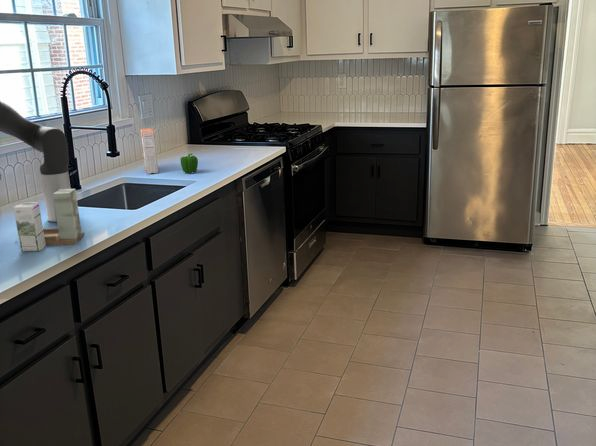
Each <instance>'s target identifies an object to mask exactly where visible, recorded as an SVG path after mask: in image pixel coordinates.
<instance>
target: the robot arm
mask: <svg viewBox="0 0 596 446" xmlns="http://www.w3.org/2000/svg"><path fill="white" fill-rule="evenodd" d="M0 132H1V133H4V134H6V135H9V136H11V137H14V138H16V139H18V140H20V141H21V142H23V143H25V144H26V145H27V146H30V147H31V148H33V149H34V150H36V151H38V152H40V153H43V163H42V164H41V165H40V166H39V173H40V178H41V183H42V191H43V196H44V203H45V209H46V216H47V221H49V222H52V223H54V222H55V223H57V219H56V212H55V204H54V198H53V193H55V192H56V191H58V190H59V189H72V187H71V183H70V181H71V180H70V174H69V164H70V157H69V146H68V145H69V144H68V140H67V137H66V134H65V132H63V130H62V129H60V128H56V127H51V126H50V127H49V126H45V125H44V126H43V125H41V124H38V123H36V122H33V121H31V120H28V119H27V118H25V117H23V116H22V115H21V114H20V113H19V112H18V111H17V110H15V109H14V108H13V107H12V106H11V105H10V104H7V103H6V102H4V101H2V100H0ZM1 176H2V175H1V173H0V181H1V178H2V177H1Z"/></svg>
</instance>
